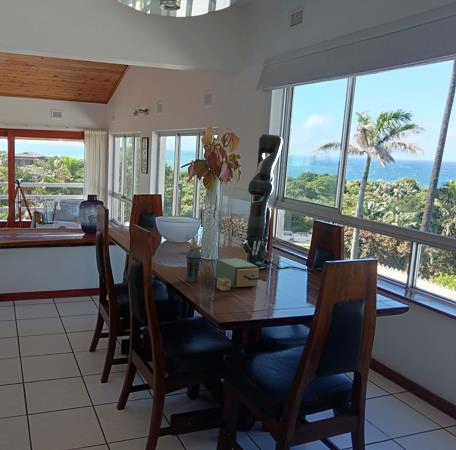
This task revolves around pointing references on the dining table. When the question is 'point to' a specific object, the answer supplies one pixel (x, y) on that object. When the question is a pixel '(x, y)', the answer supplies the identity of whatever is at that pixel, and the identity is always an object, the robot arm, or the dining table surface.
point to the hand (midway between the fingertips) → (252, 263)
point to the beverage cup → (193, 263)
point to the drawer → (246, 277)
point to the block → (223, 284)
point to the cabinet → (230, 268)
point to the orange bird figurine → (193, 244)
